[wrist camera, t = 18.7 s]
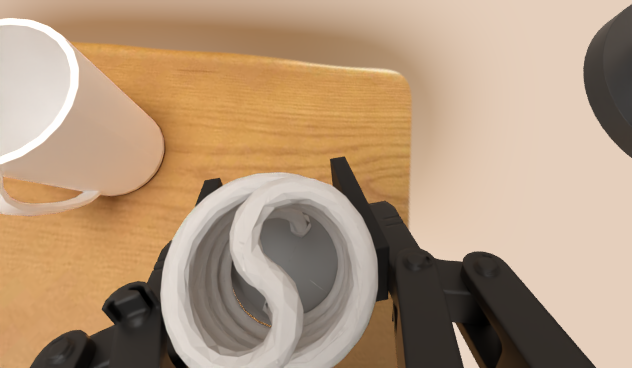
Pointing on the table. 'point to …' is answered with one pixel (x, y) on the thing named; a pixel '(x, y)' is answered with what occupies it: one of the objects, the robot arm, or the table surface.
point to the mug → (67, 123)
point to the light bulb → (269, 276)
